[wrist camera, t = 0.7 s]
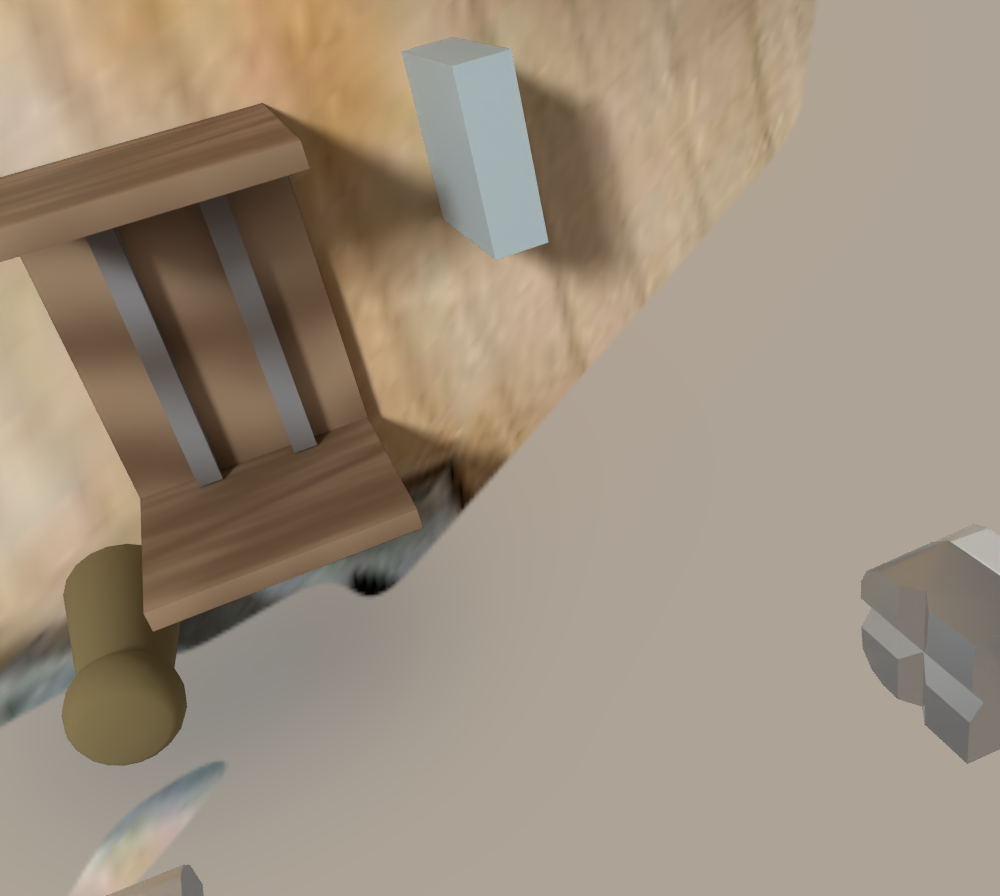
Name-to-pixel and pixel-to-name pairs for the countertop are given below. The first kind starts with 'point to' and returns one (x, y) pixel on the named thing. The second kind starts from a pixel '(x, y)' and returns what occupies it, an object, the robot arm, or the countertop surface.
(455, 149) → the door panel
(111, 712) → the cork
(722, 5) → the countertop surface
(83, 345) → the cabinet
